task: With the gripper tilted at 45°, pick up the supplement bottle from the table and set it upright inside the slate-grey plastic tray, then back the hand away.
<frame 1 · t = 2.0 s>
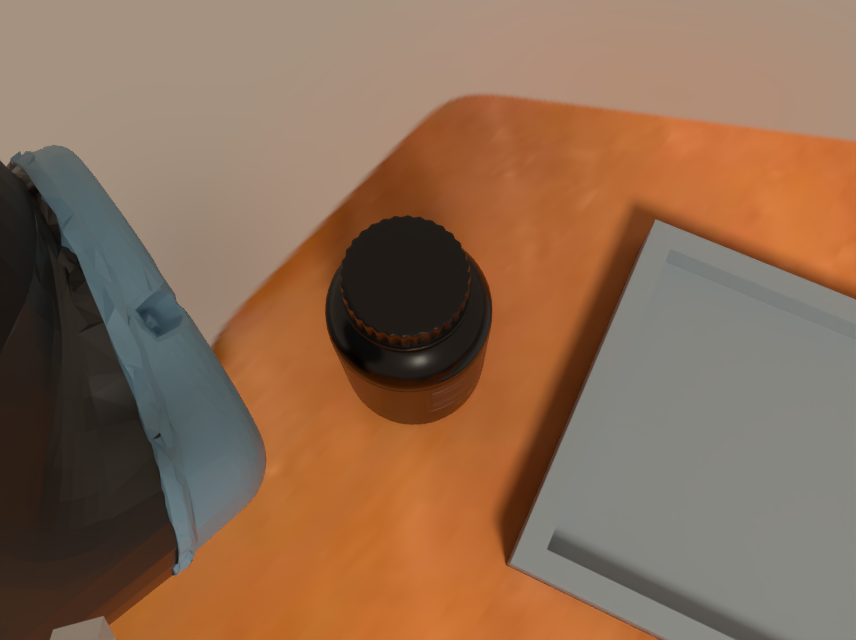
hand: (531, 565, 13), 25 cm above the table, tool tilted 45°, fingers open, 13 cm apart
tray: (756, 470, 38), on the table
supplement bottle: (415, 362, 40), on the table
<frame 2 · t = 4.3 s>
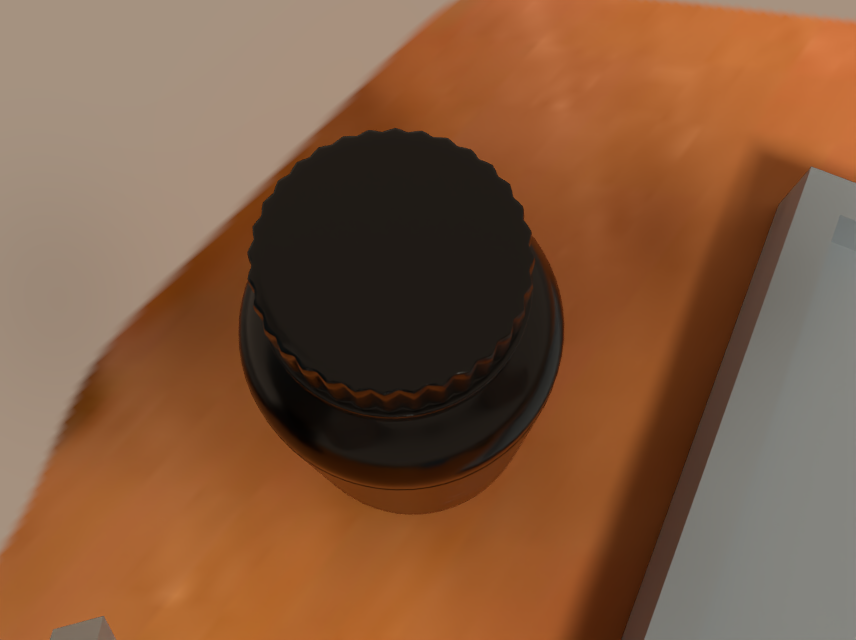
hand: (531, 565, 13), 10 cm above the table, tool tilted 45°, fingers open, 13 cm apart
supplement bottle: (415, 406, 25), on the table
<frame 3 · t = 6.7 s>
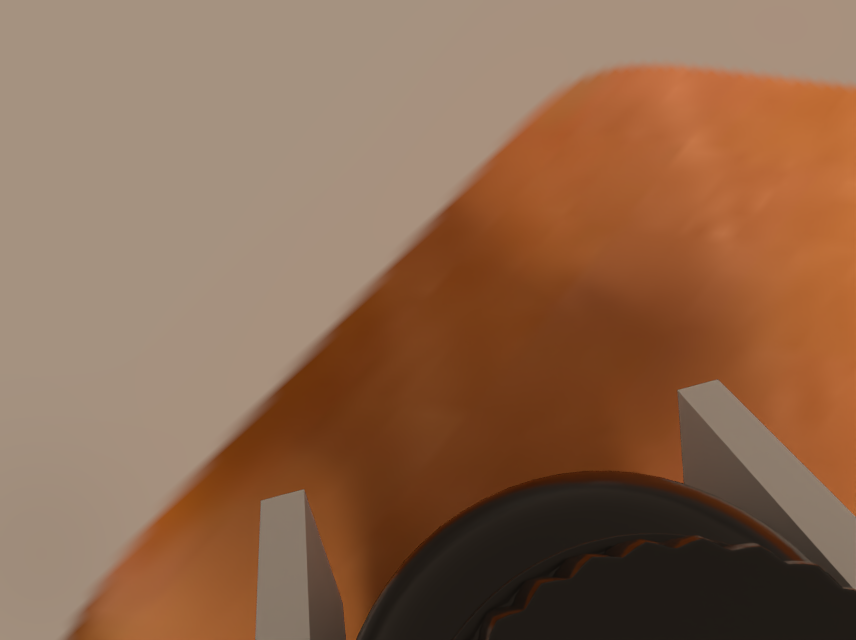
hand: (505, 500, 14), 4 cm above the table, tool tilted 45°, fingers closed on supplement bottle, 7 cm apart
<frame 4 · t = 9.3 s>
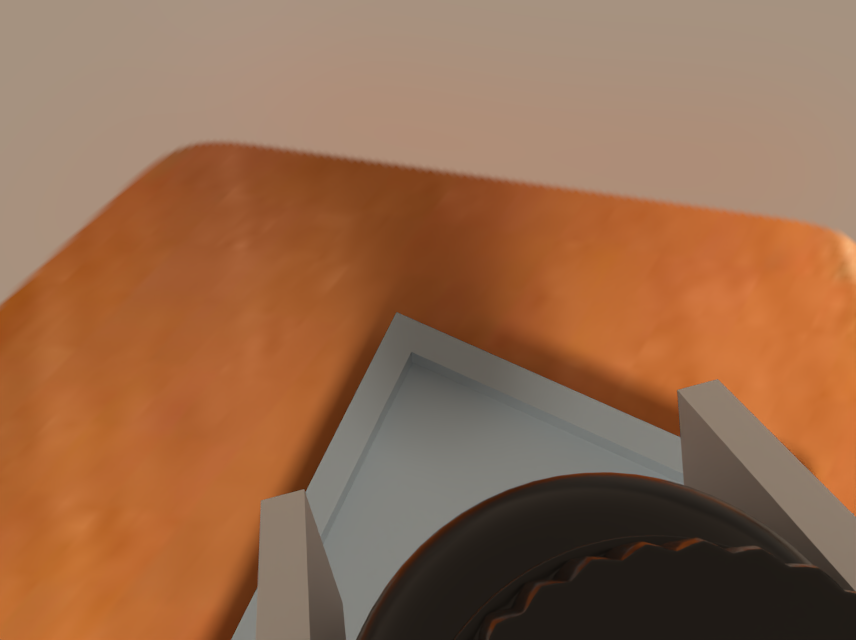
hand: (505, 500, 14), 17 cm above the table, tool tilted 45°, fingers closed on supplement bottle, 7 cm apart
when the fingers open (6 cm above the table, at t = 12.2 s): supplement bottle drops 1 cm, resting on tray.
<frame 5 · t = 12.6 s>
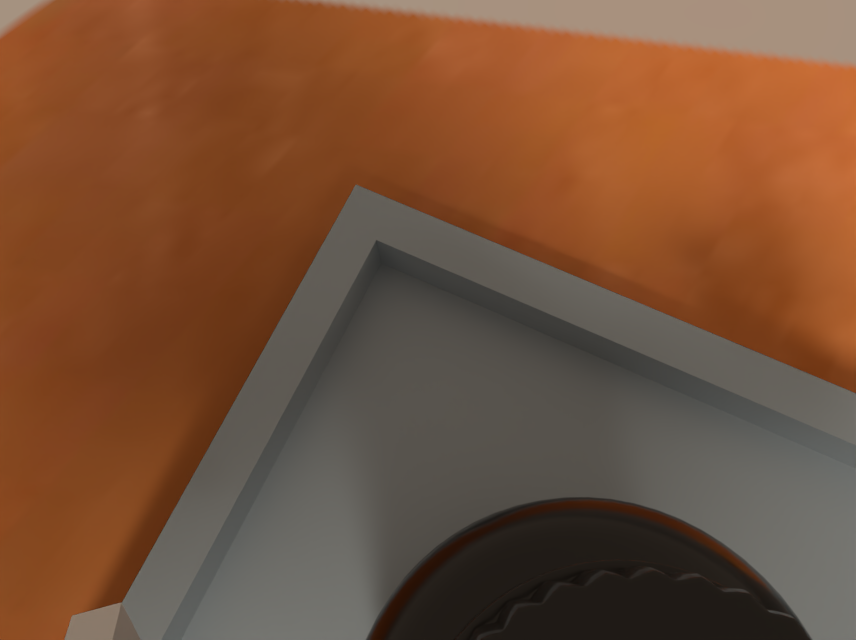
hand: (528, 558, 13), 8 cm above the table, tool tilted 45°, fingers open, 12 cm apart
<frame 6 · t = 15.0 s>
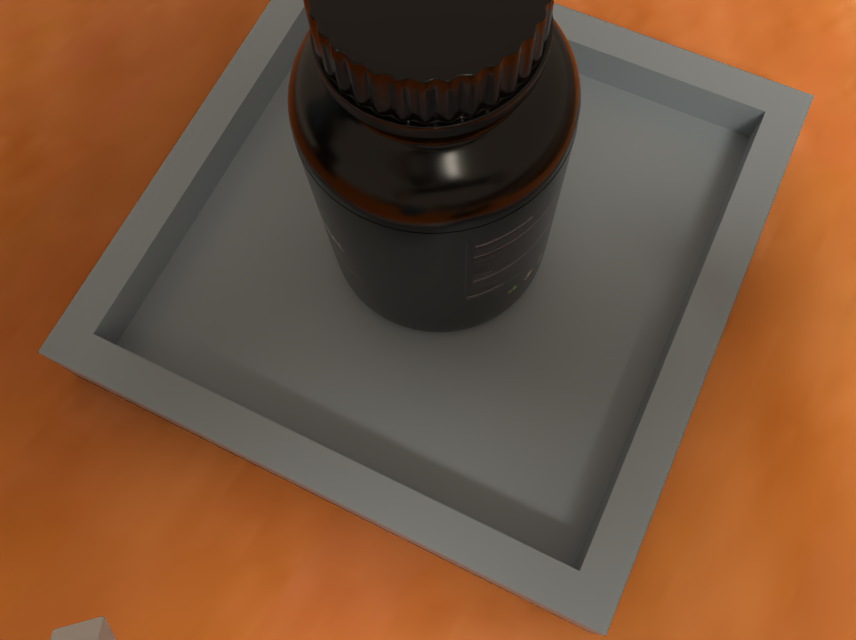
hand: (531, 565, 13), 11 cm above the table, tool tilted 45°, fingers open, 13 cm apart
tray: (442, 252, 27), on the table
supplement bottle: (441, 244, 26), point 1 cm above the table, touching tray
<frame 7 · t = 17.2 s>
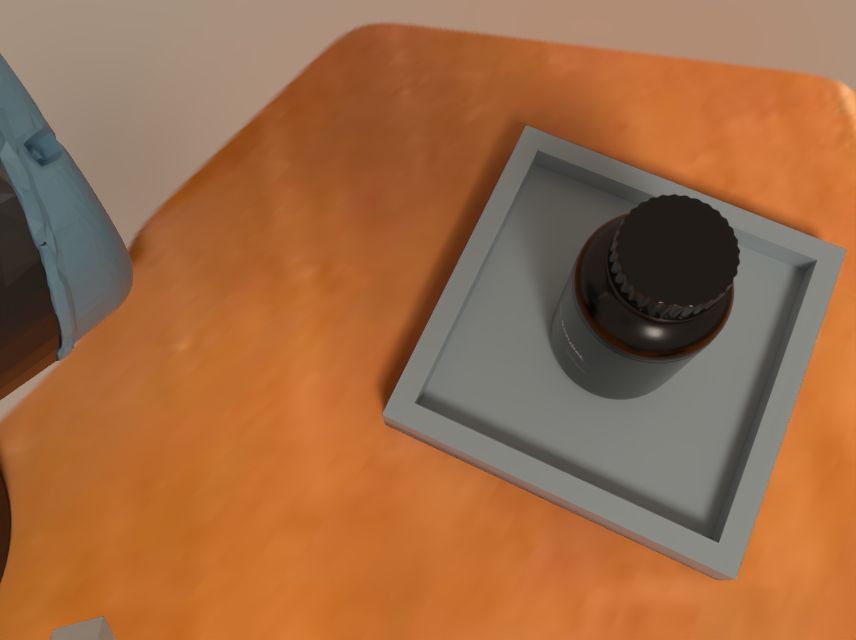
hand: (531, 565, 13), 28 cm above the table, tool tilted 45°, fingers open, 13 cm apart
tray: (611, 344, 43), on the table
supplement bottle: (613, 341, 42), point 1 cm above the table, touching tray
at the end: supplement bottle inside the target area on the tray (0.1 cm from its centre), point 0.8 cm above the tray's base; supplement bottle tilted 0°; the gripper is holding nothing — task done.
